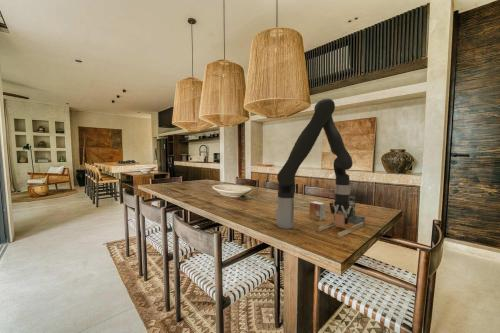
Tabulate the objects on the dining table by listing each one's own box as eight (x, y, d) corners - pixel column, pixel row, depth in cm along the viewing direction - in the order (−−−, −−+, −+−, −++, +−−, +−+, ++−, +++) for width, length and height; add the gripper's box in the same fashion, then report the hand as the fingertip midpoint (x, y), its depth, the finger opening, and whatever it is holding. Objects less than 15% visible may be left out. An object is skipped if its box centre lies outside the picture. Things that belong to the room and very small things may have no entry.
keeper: (334, 224, 118) (334, 213, 118) (339, 222, 121) (339, 212, 121) (343, 226, 114) (343, 215, 114) (347, 224, 117) (348, 214, 117)
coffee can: (358, 220, 134) (359, 198, 133) (342, 220, 133) (343, 198, 133) (350, 215, 144) (350, 194, 143) (335, 215, 144) (335, 194, 143)
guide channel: (317, 231, 114) (318, 221, 114) (344, 220, 133) (344, 212, 133) (339, 237, 105) (339, 228, 105) (364, 225, 124) (364, 216, 124)
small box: (309, 218, 138) (309, 202, 137) (313, 216, 141) (314, 200, 141) (320, 221, 132) (320, 204, 131) (324, 219, 135) (325, 203, 135)
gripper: (326, 191, 120) (325, 221, 121) (351, 195, 109) (350, 227, 110) (333, 190, 125) (332, 218, 126) (358, 193, 113) (357, 224, 114)
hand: (341, 222), depth 118 cm, fingers closed on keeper, 5 cm apart
